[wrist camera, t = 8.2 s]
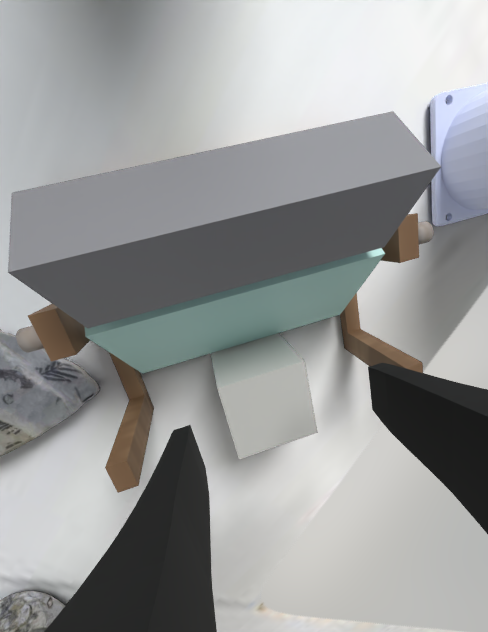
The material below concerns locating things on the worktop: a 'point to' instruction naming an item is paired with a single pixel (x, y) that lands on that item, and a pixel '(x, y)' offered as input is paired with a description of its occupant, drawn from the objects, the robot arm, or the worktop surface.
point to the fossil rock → (36, 392)
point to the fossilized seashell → (28, 611)
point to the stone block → (264, 394)
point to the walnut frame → (130, 444)
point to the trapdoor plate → (220, 238)
